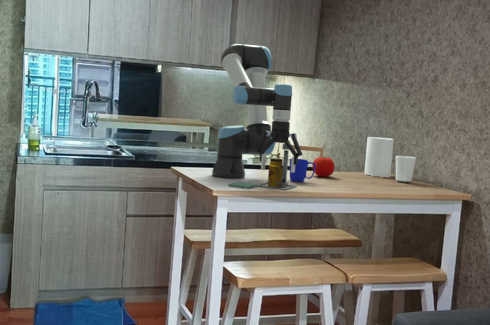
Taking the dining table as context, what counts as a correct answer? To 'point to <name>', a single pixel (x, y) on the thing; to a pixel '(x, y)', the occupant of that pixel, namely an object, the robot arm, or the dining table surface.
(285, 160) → the post
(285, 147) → the tan bent bar
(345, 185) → the dining table surface
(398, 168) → the cup
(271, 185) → the condiment
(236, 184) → the mat
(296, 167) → the mug
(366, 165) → the canister
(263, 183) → the frame
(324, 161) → the tomato
